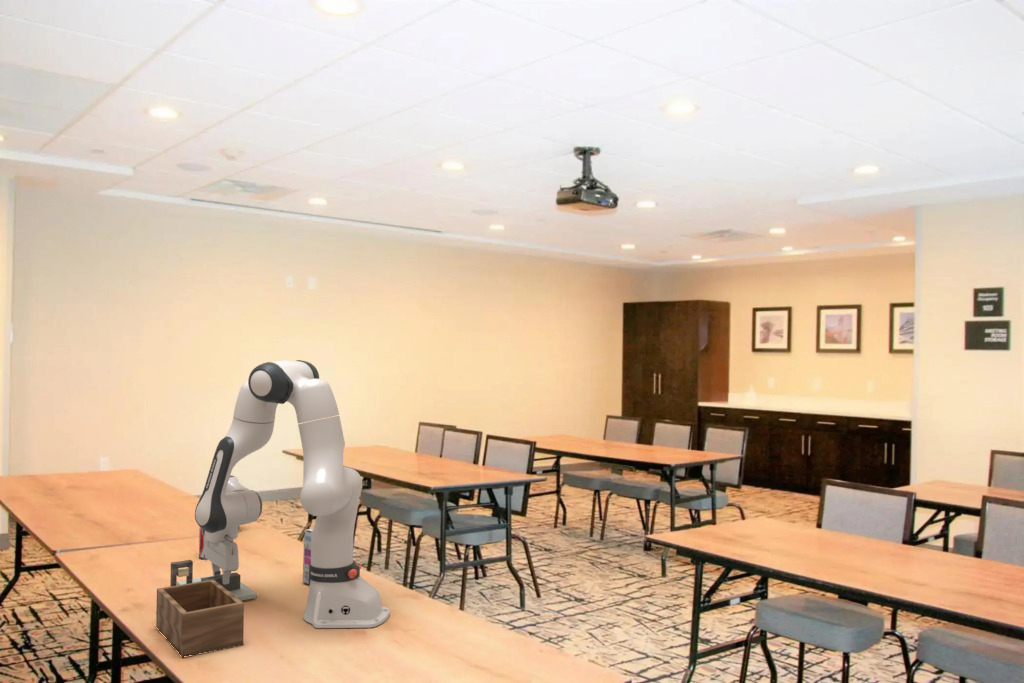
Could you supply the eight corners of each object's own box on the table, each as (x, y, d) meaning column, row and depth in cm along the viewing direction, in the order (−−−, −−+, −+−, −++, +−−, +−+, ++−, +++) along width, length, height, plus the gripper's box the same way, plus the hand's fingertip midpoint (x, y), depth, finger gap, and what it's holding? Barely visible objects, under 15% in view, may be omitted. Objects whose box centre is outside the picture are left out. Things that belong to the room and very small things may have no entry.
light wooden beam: (188, 575, 204) (188, 568, 204) (178, 577, 203) (179, 569, 203) (180, 568, 211) (180, 561, 211) (170, 570, 209) (171, 562, 209)
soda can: (211, 560, 262) (212, 524, 262) (195, 559, 263) (195, 523, 263) (222, 555, 268) (223, 520, 268) (206, 554, 269) (206, 519, 269)
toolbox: (243, 644, 187) (244, 583, 187) (182, 658, 179) (183, 593, 179) (207, 612, 210) (208, 557, 210) (151, 622, 202) (152, 565, 202)
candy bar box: (312, 587, 233) (312, 532, 234) (302, 583, 237) (302, 529, 237) (342, 579, 242) (342, 526, 242) (332, 576, 245) (332, 523, 245)
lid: (257, 601, 221) (257, 579, 221) (202, 611, 212) (203, 588, 212) (227, 580, 241) (228, 560, 241) (176, 588, 232) (177, 567, 232)
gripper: (244, 537, 218) (244, 587, 217) (221, 524, 234) (221, 570, 234) (221, 540, 214) (221, 591, 214) (200, 527, 230) (199, 574, 230)
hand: (220, 580), depth 224 cm, fingers open, 6 cm apart
